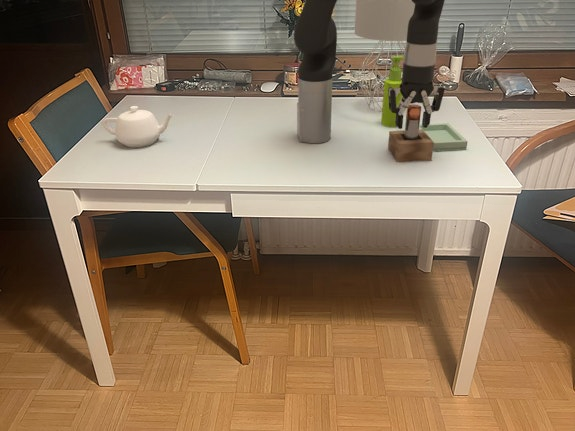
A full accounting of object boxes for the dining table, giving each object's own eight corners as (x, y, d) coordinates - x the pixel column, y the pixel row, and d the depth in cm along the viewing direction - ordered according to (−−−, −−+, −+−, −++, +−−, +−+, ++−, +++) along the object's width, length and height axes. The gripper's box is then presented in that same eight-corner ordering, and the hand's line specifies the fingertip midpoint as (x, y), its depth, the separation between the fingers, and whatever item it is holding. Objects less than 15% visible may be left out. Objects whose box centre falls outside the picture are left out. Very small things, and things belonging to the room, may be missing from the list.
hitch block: (397, 162, 136) (399, 144, 134) (387, 148, 144) (389, 131, 142) (431, 160, 137) (433, 142, 135) (420, 146, 145) (422, 129, 142)
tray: (429, 151, 142) (431, 143, 141) (413, 132, 154) (414, 124, 153) (466, 149, 143) (467, 141, 142) (447, 131, 155) (448, 123, 154)
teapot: (180, 133, 156) (176, 99, 151) (172, 149, 146) (167, 113, 141) (112, 133, 157) (106, 100, 152) (99, 150, 146) (92, 114, 141)
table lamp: (406, 122, 161) (421, -22, 141) (339, 111, 171) (344, -25, 151) (429, 102, 178) (445, -30, 158) (366, 92, 188) (374, -32, 168)
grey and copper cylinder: (404, 157, 139) (409, 109, 132) (400, 152, 142) (405, 104, 135) (417, 156, 139) (423, 108, 133) (413, 151, 142) (418, 104, 136)
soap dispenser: (404, 127, 157) (411, 59, 148) (380, 126, 159) (386, 58, 149) (404, 121, 162) (411, 54, 152) (381, 119, 164) (386, 53, 154)
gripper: (394, 66, 125) (388, 134, 133) (454, 63, 126) (444, 131, 134) (386, 58, 131) (380, 123, 139) (442, 56, 132) (434, 121, 141)
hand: (412, 127), depth 137 cm, fingers open, 6 cm apart
